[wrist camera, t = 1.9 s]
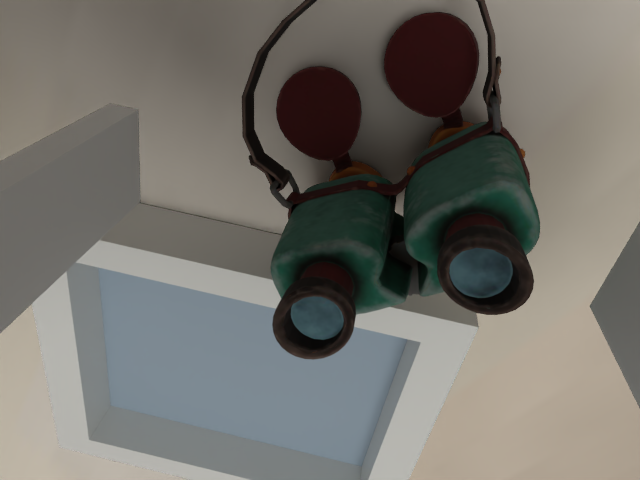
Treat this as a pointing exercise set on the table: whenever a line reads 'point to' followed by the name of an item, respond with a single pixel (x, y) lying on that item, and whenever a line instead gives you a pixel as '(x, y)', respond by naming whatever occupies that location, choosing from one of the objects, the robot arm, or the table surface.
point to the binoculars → (396, 192)
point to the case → (233, 362)
